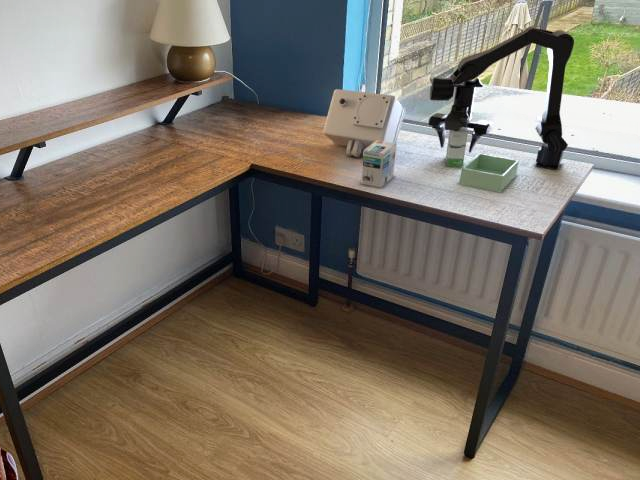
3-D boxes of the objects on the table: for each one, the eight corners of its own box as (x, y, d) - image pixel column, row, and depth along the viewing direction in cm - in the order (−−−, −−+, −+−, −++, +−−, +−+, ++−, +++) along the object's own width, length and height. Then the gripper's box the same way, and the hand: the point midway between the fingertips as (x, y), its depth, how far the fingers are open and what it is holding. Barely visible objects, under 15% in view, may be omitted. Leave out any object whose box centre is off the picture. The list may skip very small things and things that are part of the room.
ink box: (463, 167, 191) (468, 131, 185) (447, 166, 192) (452, 130, 186) (460, 158, 198) (466, 122, 192) (445, 157, 199) (450, 122, 193)
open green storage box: (515, 175, 184) (519, 160, 181) (500, 192, 174) (503, 176, 171) (476, 168, 190) (479, 153, 187) (459, 183, 180) (461, 168, 177)
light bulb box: (381, 188, 179) (384, 153, 173) (360, 184, 182) (362, 150, 176) (394, 176, 186) (397, 142, 181) (373, 172, 190) (376, 139, 184)
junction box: (310, 144, 201) (328, 80, 200) (326, 156, 215) (343, 96, 213) (377, 155, 190) (396, 87, 189) (389, 167, 204) (407, 104, 202)
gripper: (424, 102, 184) (418, 151, 192) (484, 111, 174) (475, 162, 183) (438, 94, 191) (432, 142, 200) (497, 102, 182) (487, 152, 190)
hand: (455, 149), depth 193 cm, fingers open, 9 cm apart
